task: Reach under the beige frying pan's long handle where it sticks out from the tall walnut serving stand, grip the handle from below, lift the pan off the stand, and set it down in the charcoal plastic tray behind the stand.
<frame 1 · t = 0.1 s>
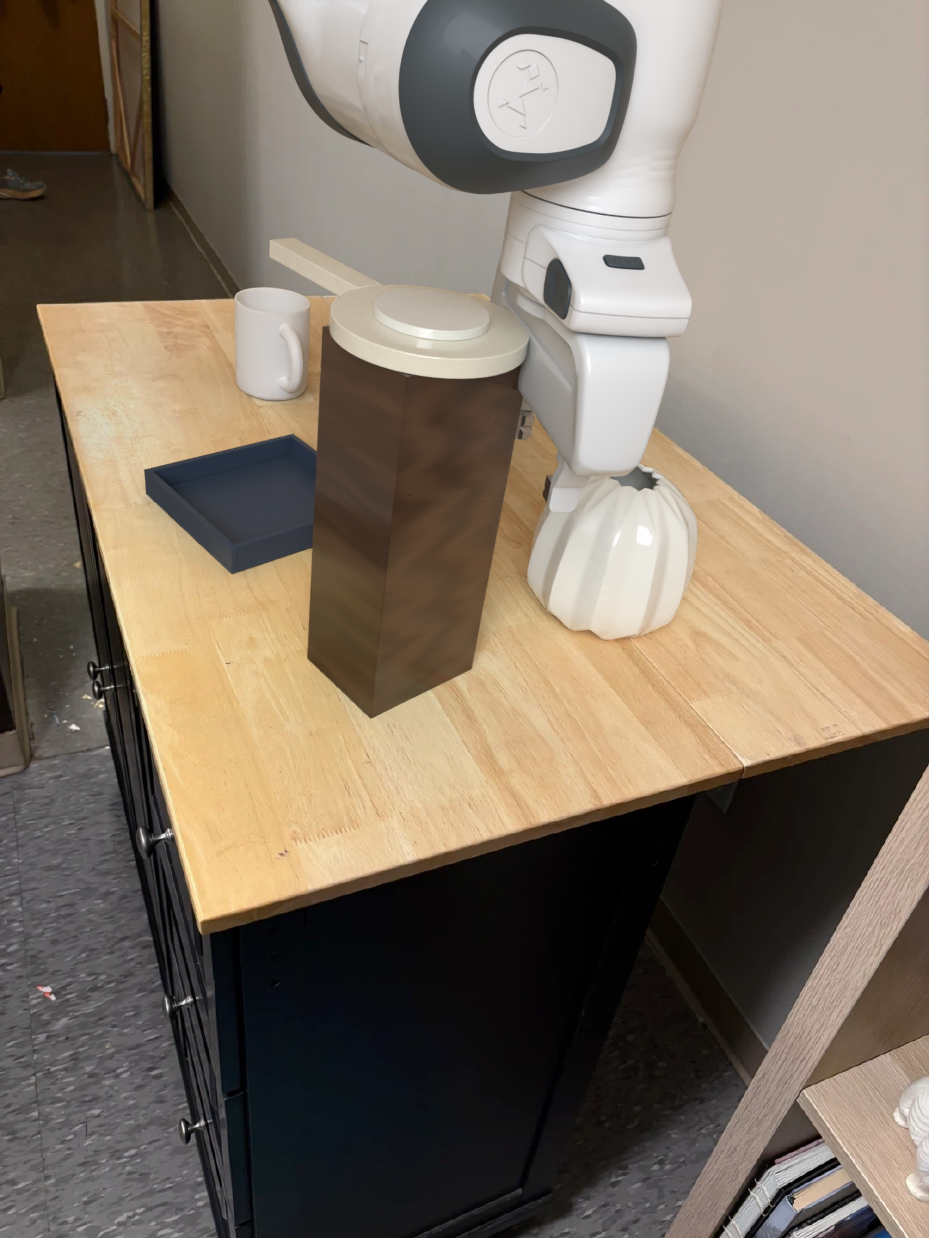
hand: (535, 468, 59), 19 cm above the table, tool pointing down, fingers open, 8 cm apart
mug: (277, 395, 106), on the table
beige frying pan: (428, 338, 55), point 26 cm above the table, touching stand
tray: (265, 509, 86), on the table
vase: (594, 610, 81), on the table
stand: (390, 663, 71), on the table
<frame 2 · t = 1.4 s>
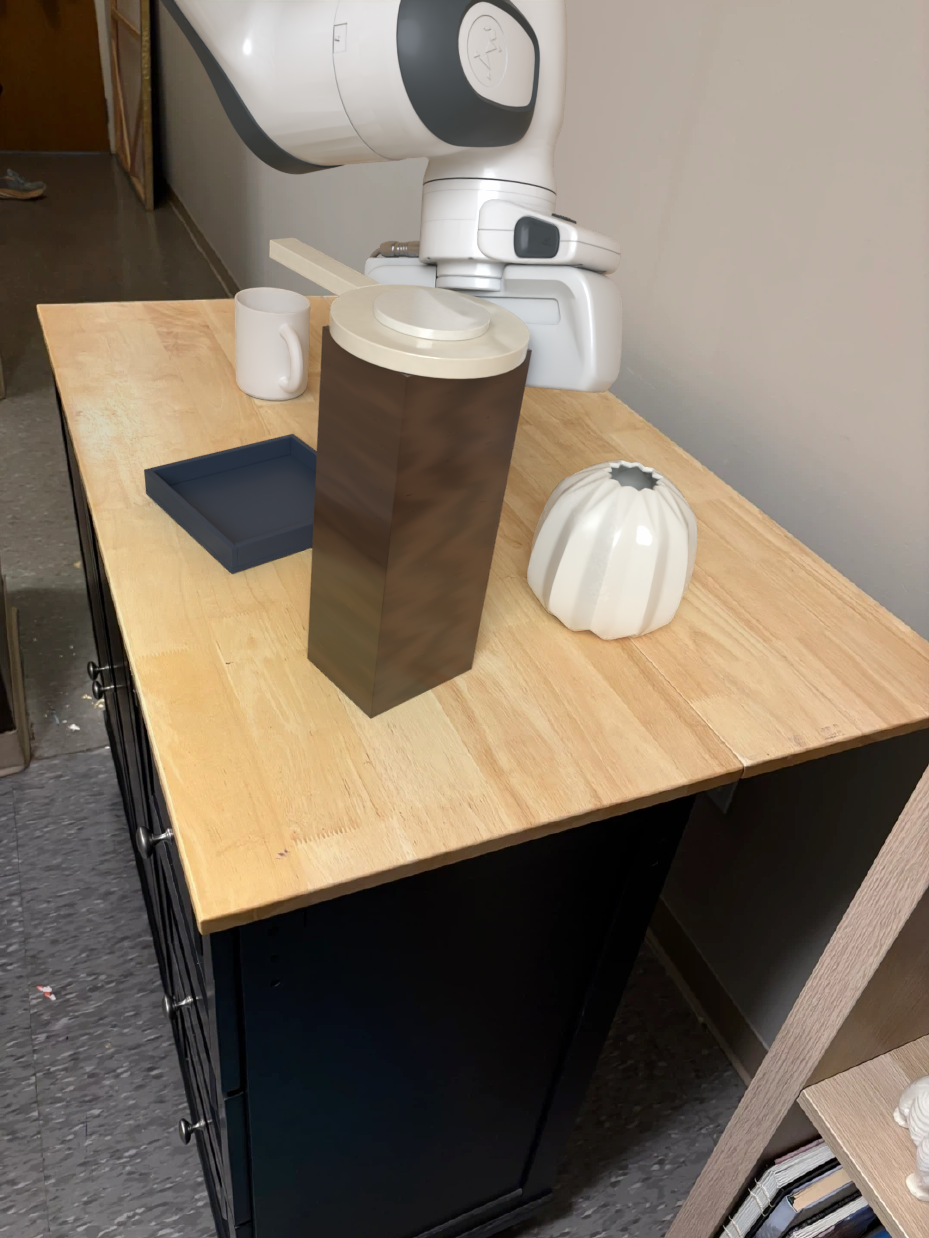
hand: (470, 449, 64), 17 cm above the table, tool tilted 20°, fingers closed, pressing on stand
nothing on the table moved.
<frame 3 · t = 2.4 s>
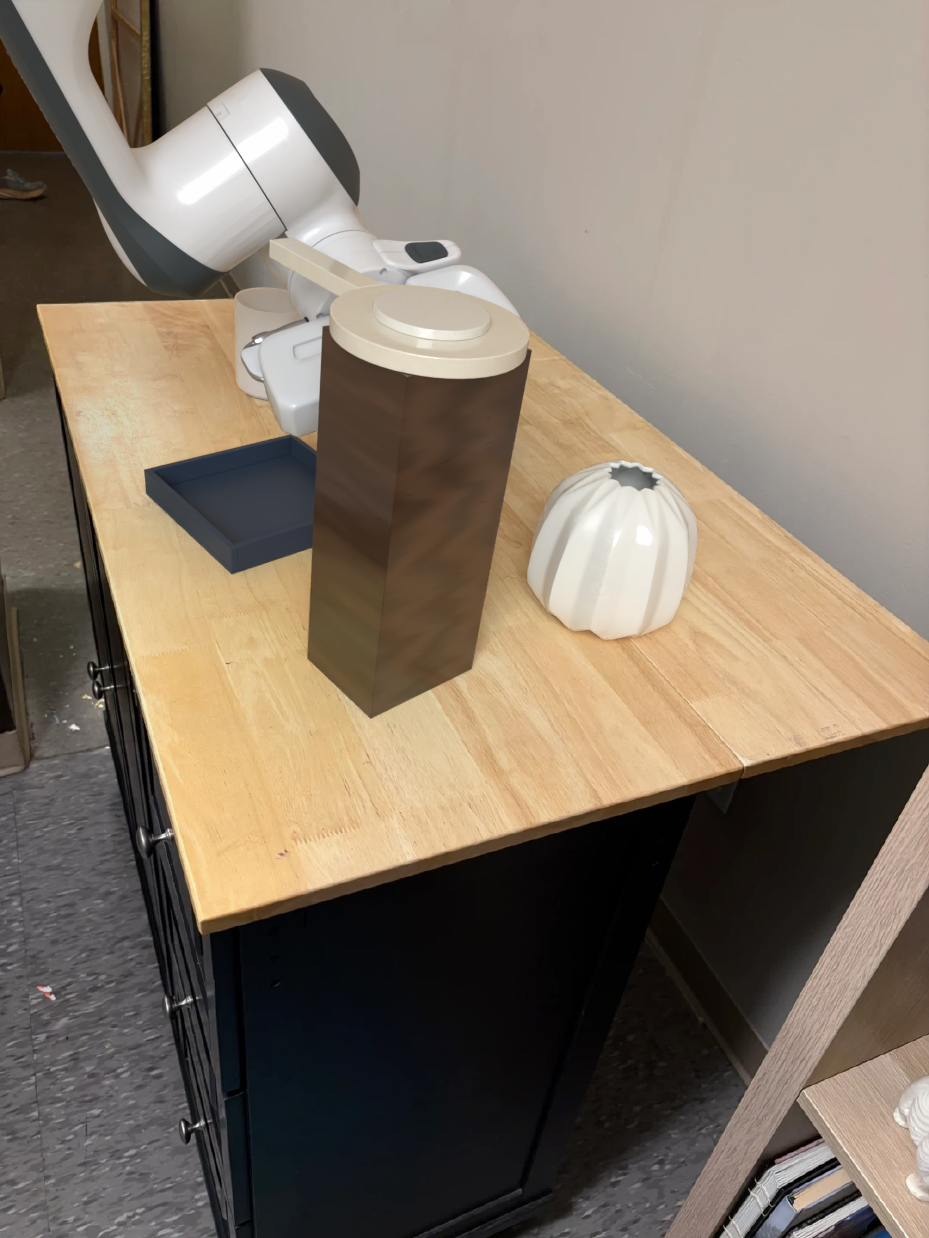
hand: (440, 426, 66), 17 cm above the table, tool tilted 70°, fingers closed, pressing on stand
nothing on the table moved.
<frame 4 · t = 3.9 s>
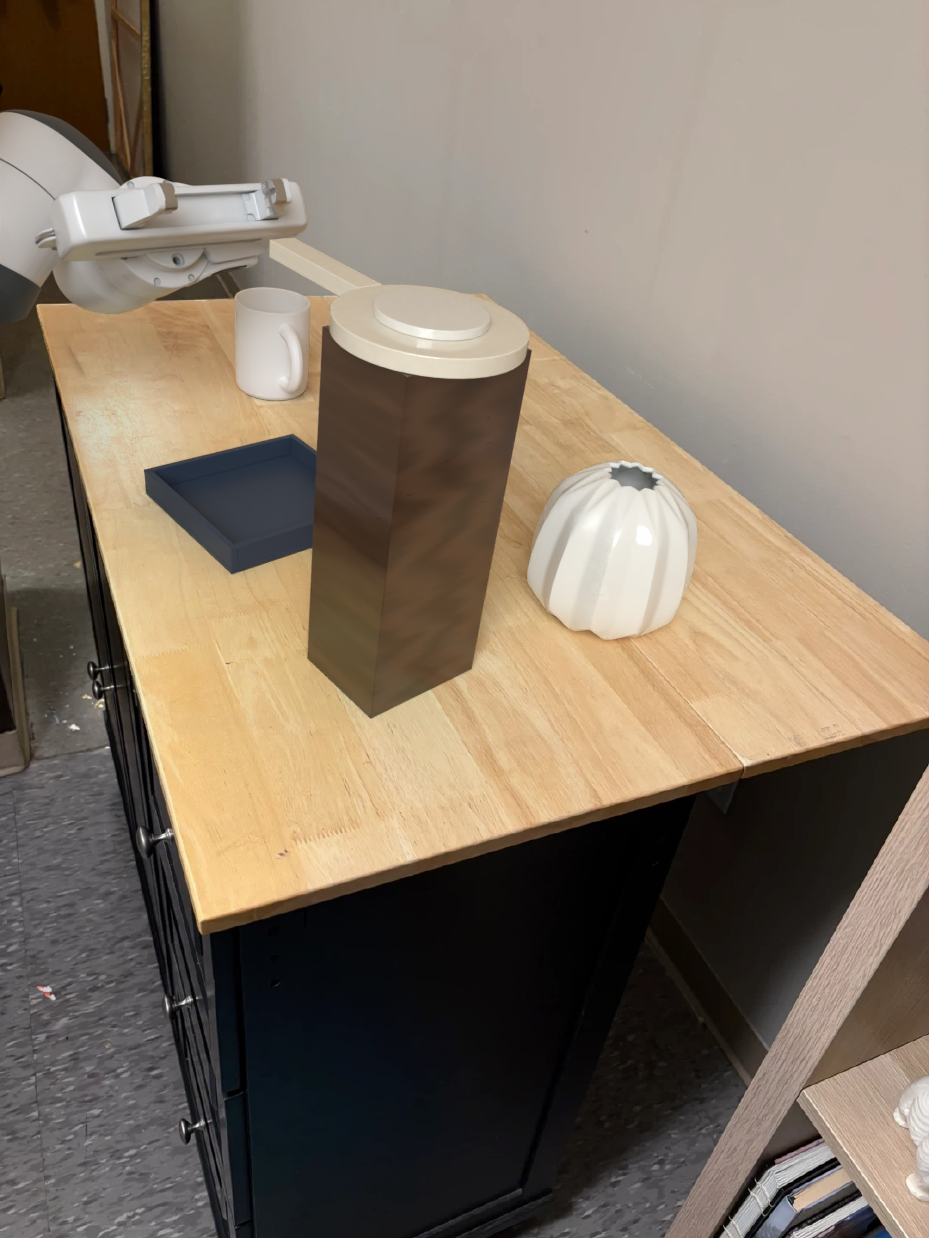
hand: (227, 192, 66), 28 cm above the table, tool pointing upward, fingers open, 8 cm apart
nothing on the table moved.
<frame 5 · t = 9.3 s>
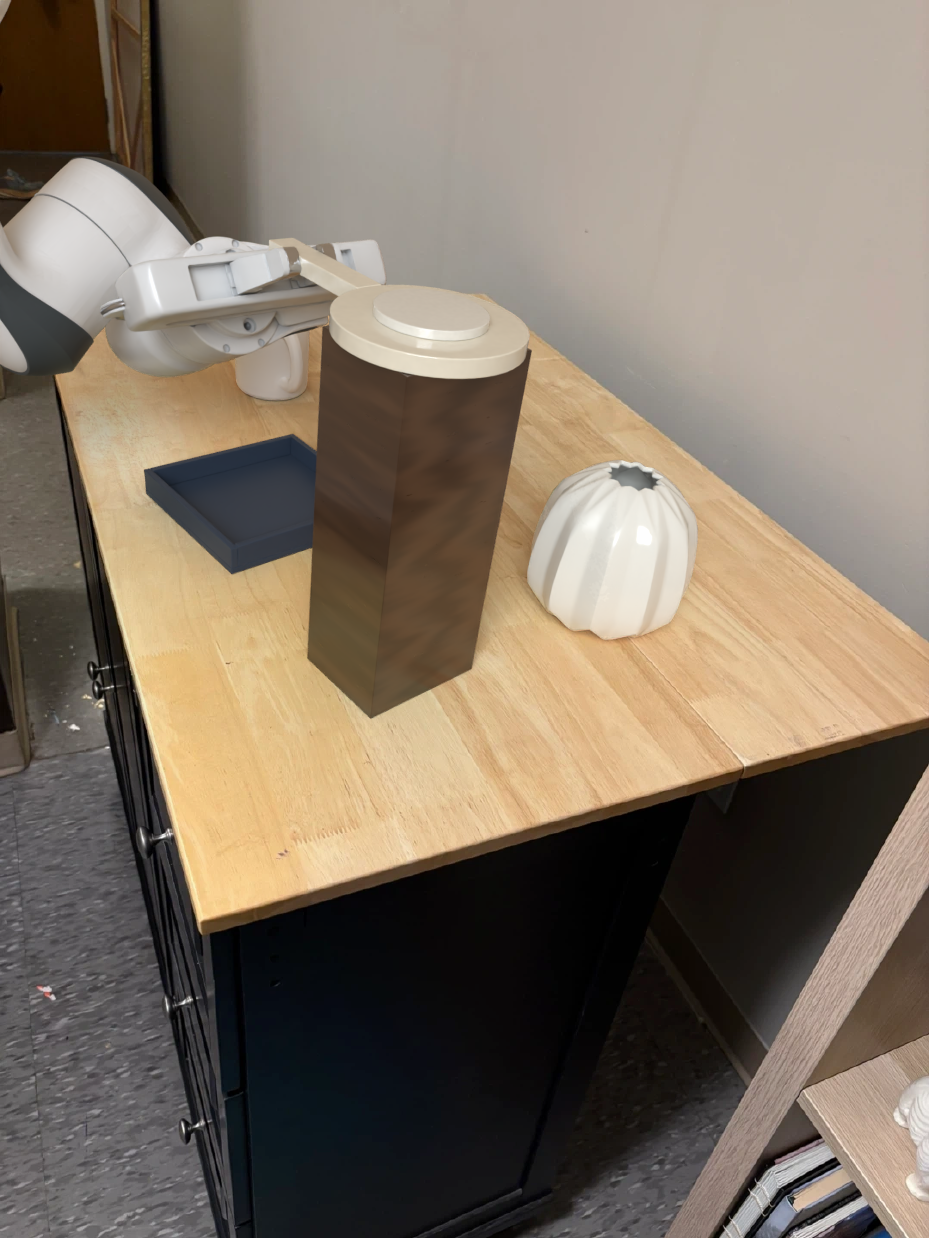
hand: (312, 257, 61), 27 cm above the table, tool pointing upward, fingers closed on beige frying pan, 2 cm apart
beige frying pan: (428, 338, 55), point 26 cm above the table, touching gripper, stand
everything else where it was.
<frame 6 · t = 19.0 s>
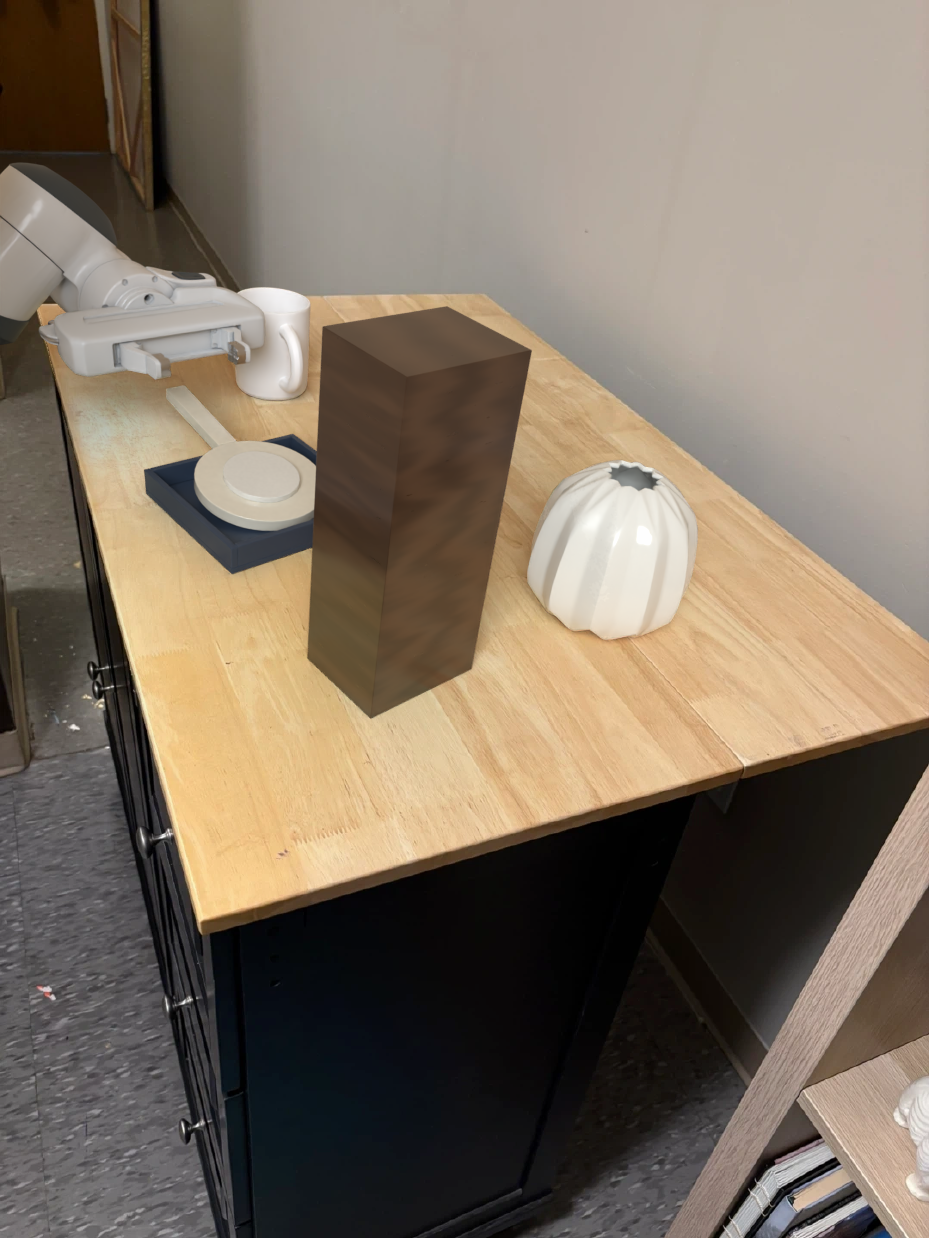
hand: (205, 363, 85), 10 cm above the table, tool horizontal, fingers open, 7 cm apart
beige frying pan: (260, 489, 86), point 2 cm above the table, tilted 10°, touching tray
everything else where it was.
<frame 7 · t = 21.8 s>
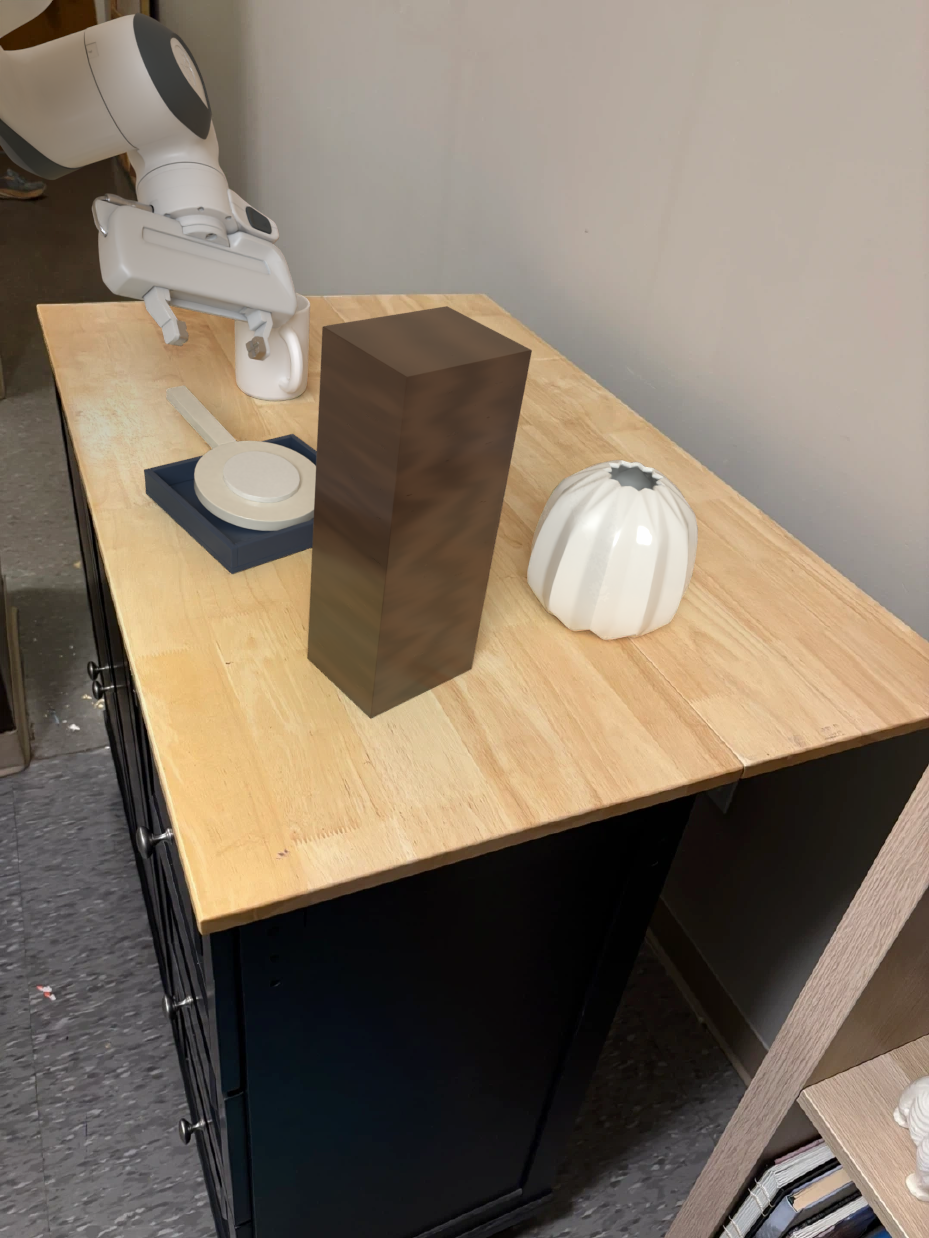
hand: (220, 350, 87), 11 cm above the table, tool tilted 50°, fingers open, 8 cm apart
nothing on the table moved.
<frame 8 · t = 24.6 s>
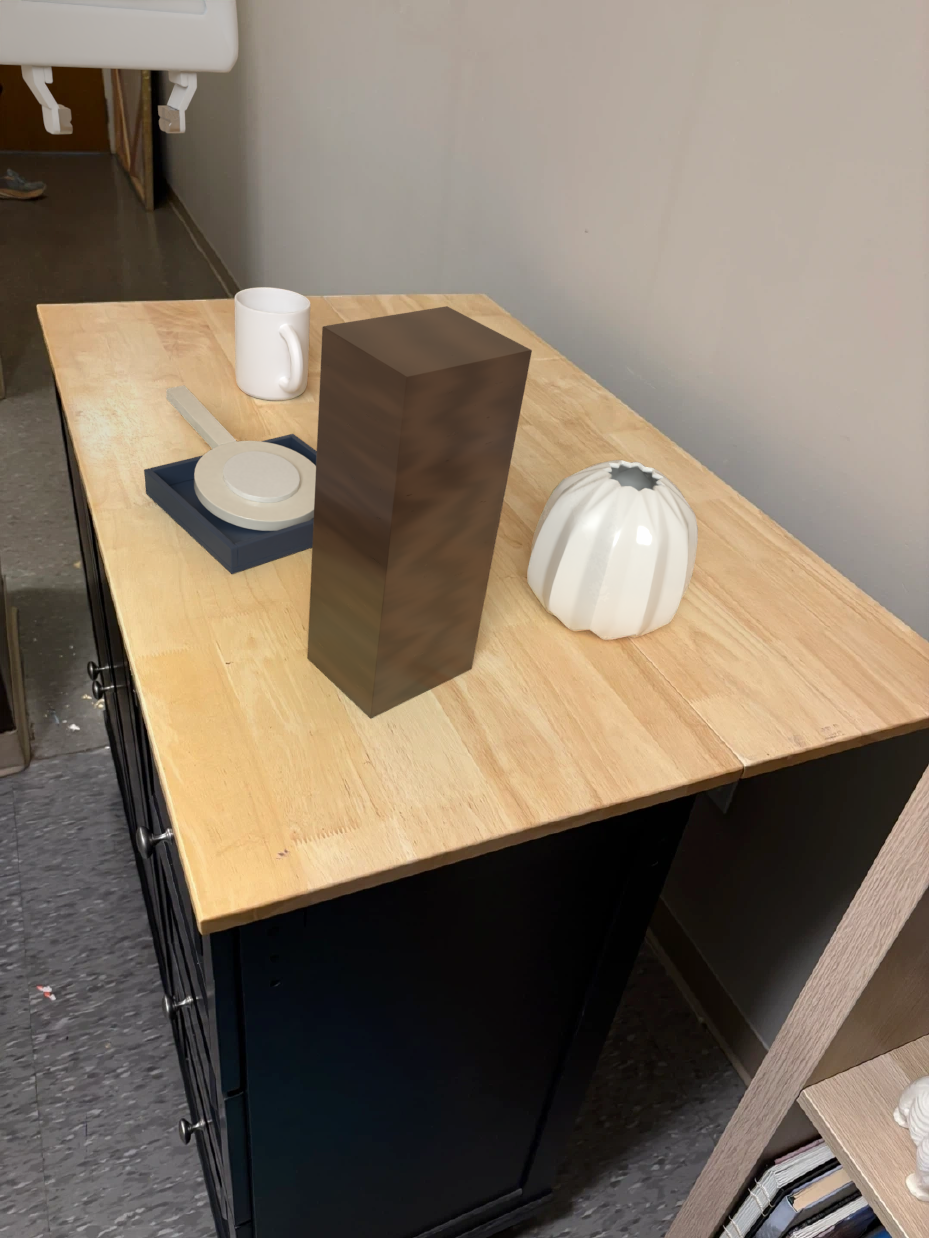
hand: (118, 132, 73), 29 cm above the table, tool pointing down, fingers open, 8 cm apart
nothing on the table moved.
at the end: beige frying pan inside the target area in the tray (1.1 cm from its centre), point 1.6 cm above the tray's base; beige frying pan tilted 10°; the gripper is holding nothing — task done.
